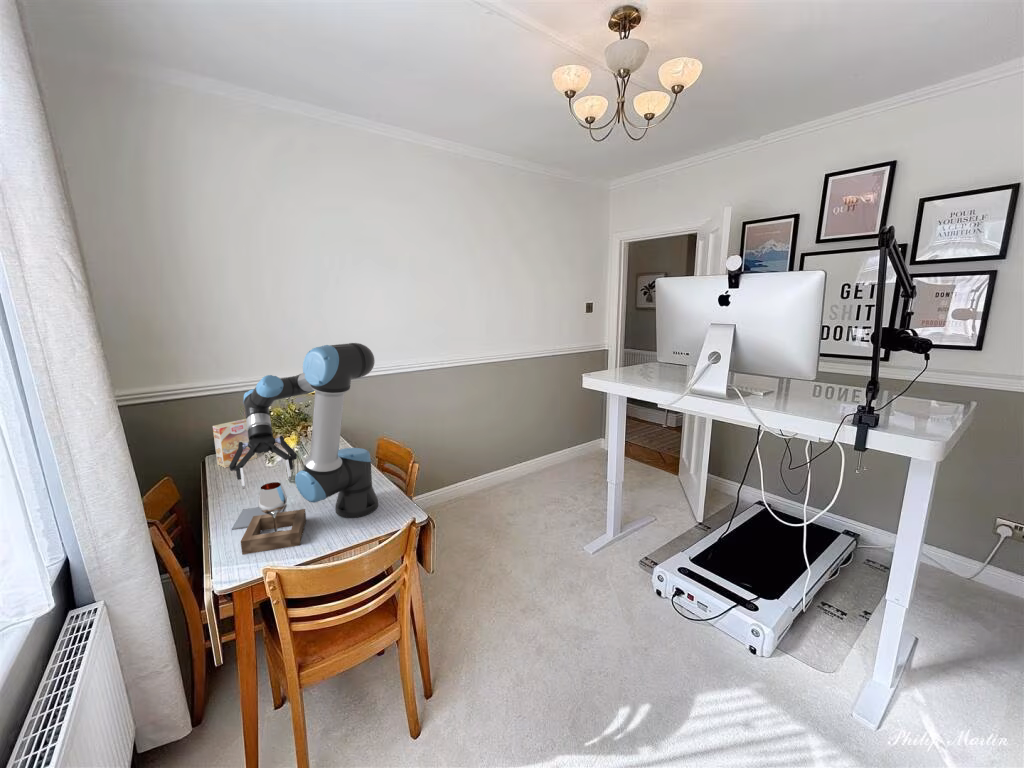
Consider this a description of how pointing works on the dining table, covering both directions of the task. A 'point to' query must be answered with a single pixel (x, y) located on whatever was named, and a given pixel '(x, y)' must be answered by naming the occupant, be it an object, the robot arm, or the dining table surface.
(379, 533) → the dining table surface
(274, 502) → the wineglass
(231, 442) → the coffeecake box
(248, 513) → the mat
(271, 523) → the frame
